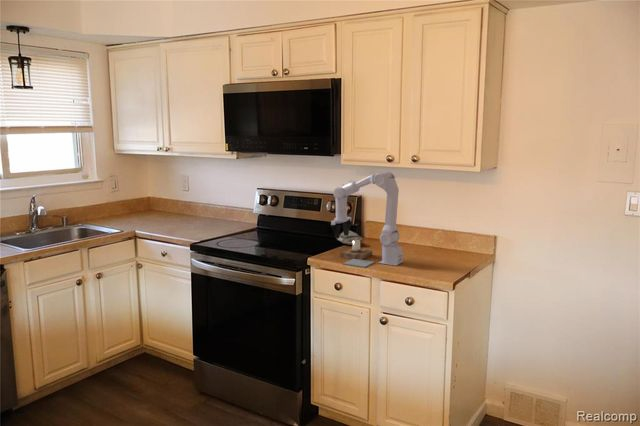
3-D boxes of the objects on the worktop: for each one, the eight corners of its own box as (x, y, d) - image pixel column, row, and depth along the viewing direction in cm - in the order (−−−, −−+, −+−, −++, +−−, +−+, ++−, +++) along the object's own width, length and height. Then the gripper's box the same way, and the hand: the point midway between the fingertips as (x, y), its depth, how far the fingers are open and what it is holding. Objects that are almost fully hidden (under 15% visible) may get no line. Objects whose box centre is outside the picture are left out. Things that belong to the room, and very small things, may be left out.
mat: (374, 262, 248) (374, 261, 248) (365, 267, 240) (365, 266, 240) (353, 259, 254) (353, 258, 254) (342, 264, 246) (342, 263, 246)
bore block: (372, 255, 263) (372, 250, 263) (361, 260, 253) (361, 255, 253) (351, 252, 269) (351, 247, 269) (340, 257, 260) (340, 252, 259)
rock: (331, 239, 289) (337, 224, 292) (338, 248, 296) (345, 233, 299) (357, 244, 278) (364, 228, 281) (365, 252, 284) (371, 237, 288)
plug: (361, 255, 262) (361, 240, 261) (357, 257, 259) (357, 242, 257) (354, 254, 264) (354, 239, 263) (351, 256, 261) (350, 241, 259)
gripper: (343, 207, 267) (343, 233, 269) (326, 211, 256) (326, 238, 258) (354, 209, 262) (354, 234, 265) (337, 212, 251) (337, 239, 254)
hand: (341, 236), depth 261 cm, fingers open, 7 cm apart
